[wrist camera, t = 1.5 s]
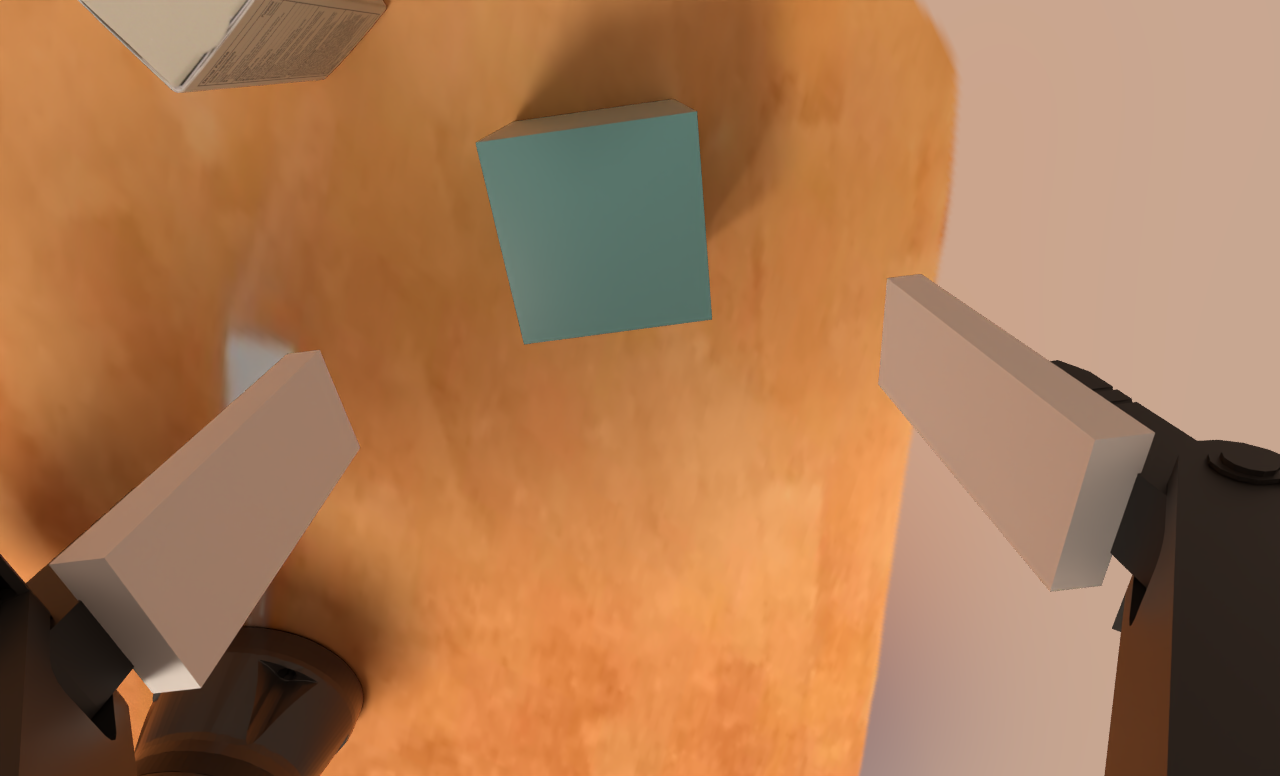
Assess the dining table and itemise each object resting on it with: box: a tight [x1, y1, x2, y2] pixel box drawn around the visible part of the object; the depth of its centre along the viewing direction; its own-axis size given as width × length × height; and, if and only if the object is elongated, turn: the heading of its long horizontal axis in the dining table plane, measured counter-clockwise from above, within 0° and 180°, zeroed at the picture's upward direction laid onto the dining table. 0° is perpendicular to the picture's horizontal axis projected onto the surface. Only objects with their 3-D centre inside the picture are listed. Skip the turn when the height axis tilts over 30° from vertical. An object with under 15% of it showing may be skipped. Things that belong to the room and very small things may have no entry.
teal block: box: [476, 99, 712, 344], centre depth 28 cm, size 8×8×10 cm
